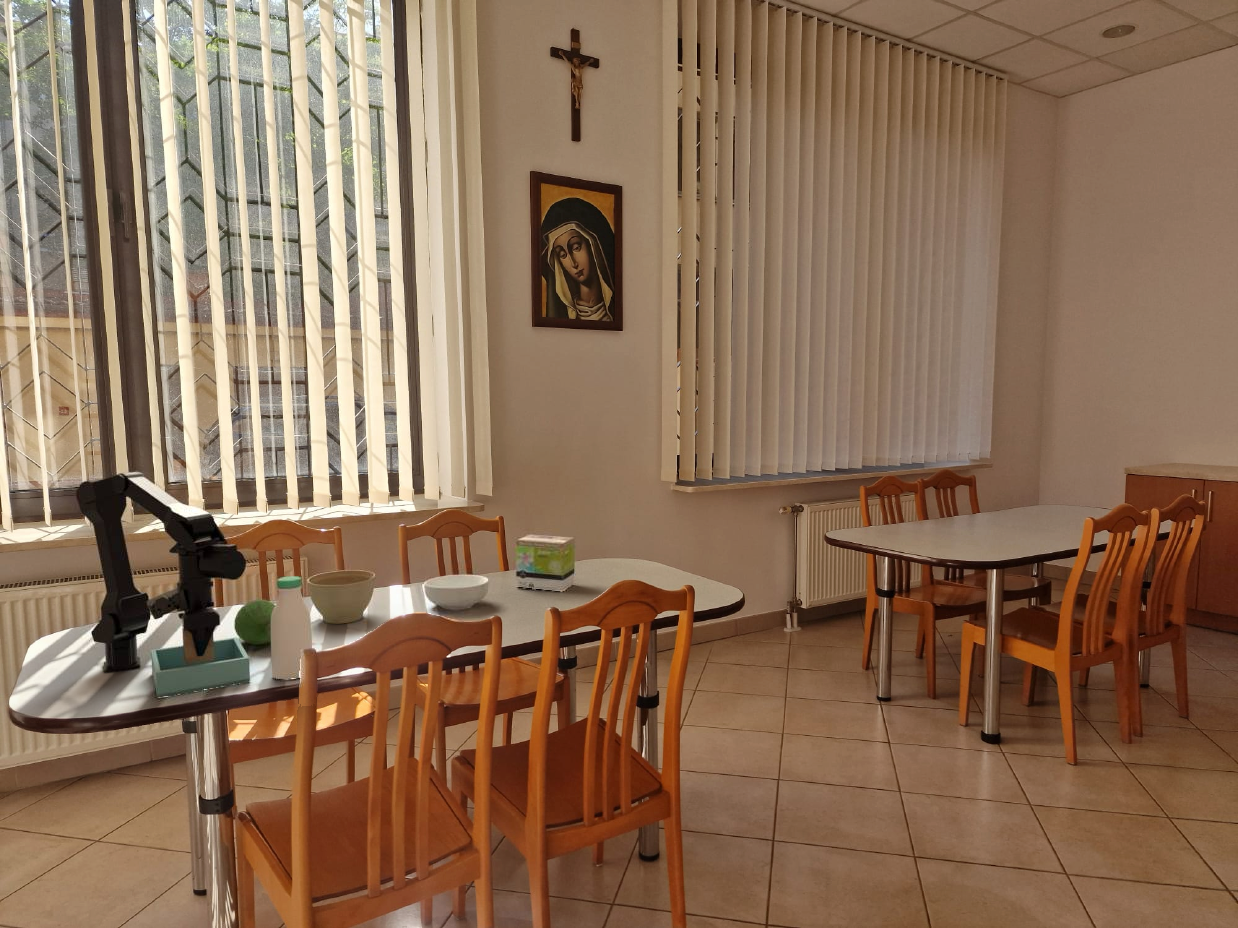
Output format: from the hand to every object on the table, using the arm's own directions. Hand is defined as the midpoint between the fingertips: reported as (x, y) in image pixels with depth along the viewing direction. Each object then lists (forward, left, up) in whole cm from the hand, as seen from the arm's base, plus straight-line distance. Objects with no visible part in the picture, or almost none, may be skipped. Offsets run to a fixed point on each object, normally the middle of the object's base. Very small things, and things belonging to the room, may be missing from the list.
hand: (198, 652), depth 162 cm
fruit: (-17, +14, -6) cm, 23 cm away
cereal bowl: (-24, +64, -6) cm, 69 cm away
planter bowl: (-28, +35, -6) cm, 45 cm away
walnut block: (0, 0, -1) cm, 1 cm away
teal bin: (0, 0, -5) cm, 5 cm away
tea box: (-30, +94, -6) cm, 99 cm away
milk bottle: (+8, +16, -6) cm, 19 cm away
